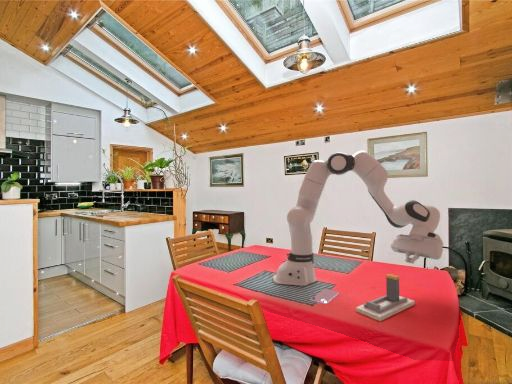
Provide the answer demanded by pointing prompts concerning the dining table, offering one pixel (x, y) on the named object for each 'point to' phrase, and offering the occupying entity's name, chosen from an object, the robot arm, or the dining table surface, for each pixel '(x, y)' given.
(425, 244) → the robot arm
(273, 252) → the dining table surface
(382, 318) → the switch plate
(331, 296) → the mobile phone
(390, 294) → the switch tab
